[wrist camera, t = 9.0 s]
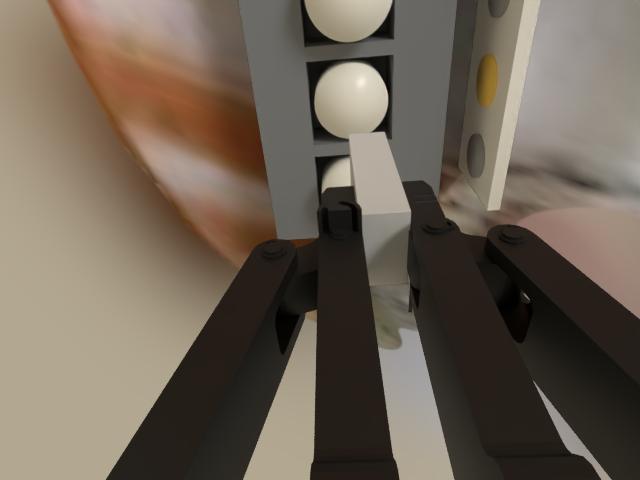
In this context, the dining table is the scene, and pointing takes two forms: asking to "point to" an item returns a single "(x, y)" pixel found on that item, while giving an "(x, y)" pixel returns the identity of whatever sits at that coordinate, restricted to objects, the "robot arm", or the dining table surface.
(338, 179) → the button
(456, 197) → the dining table surface
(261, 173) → the dining table surface
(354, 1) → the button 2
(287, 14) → the board
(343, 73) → the button
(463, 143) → the card
